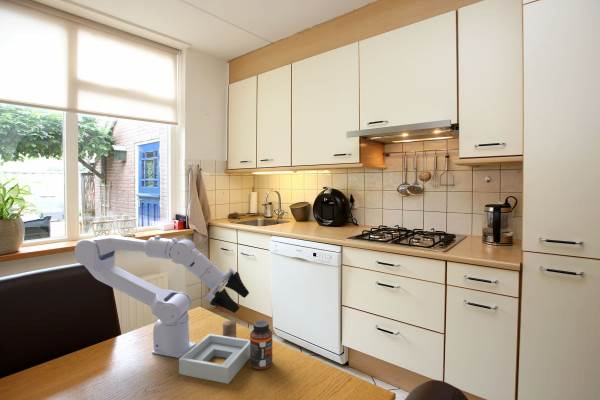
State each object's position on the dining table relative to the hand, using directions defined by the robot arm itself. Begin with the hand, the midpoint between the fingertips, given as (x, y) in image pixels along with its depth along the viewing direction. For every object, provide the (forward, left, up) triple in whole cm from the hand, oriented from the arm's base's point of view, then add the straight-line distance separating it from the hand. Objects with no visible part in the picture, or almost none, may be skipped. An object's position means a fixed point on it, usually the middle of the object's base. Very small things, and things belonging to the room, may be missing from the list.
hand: (242, 302), depth 93 cm
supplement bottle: (+8, -5, -14) cm, 17 cm away
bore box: (-3, -8, -14) cm, 17 cm away
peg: (-6, +3, -14) cm, 16 cm away
